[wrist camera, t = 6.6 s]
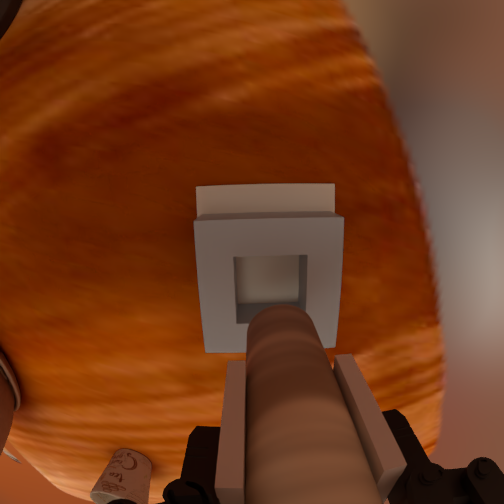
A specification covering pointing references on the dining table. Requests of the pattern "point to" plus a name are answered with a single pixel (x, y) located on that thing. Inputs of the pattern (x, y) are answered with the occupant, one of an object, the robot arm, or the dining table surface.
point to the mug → (124, 479)
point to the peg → (298, 419)
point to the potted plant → (7, 399)
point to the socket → (266, 257)
